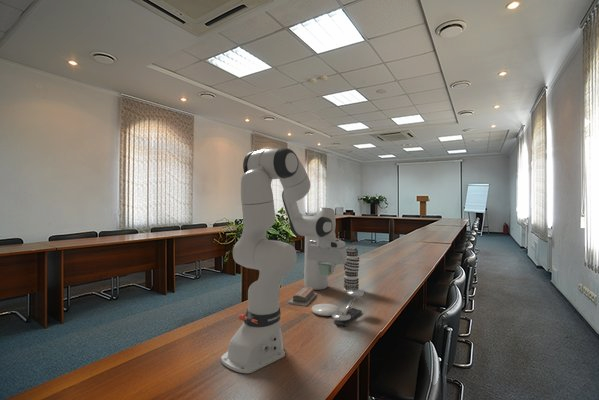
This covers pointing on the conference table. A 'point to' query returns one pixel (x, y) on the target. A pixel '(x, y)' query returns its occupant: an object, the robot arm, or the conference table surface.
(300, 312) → the conference table surface
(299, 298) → the packaged product
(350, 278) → the decorative candle
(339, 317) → the balance
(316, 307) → the dish
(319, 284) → the vase
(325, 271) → the block
